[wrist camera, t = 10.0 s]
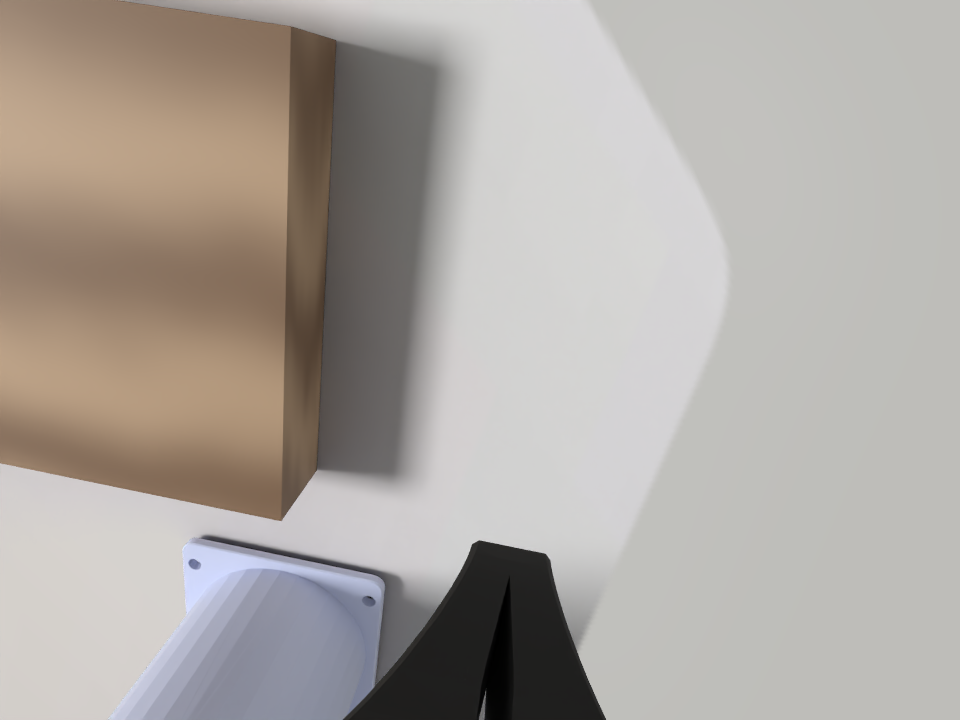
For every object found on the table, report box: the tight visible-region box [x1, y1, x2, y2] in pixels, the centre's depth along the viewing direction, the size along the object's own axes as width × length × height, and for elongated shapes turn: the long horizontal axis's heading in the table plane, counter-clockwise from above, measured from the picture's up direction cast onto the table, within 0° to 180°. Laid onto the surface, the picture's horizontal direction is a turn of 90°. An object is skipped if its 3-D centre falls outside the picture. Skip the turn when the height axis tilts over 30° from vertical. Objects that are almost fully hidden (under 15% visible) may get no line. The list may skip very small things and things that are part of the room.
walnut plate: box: [0, 0, 336, 521], centre depth 19 cm, size 14×12×3 cm
